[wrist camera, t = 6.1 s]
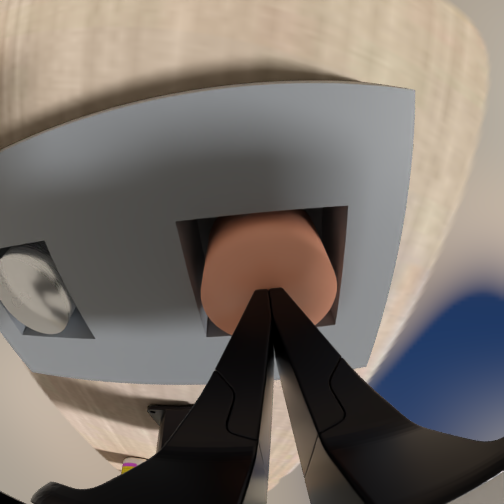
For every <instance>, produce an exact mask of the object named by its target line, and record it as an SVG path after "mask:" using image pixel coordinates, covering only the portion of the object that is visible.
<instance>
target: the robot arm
mask: <svg viewBox="0 0 504 504" xmlns="http://www.w3.org/2000/svg"><path fill="white" fill-rule="evenodd" d="M274 353H275V359H276V364H277V368H278V372H279V376H280V380H281V385H282V389H283V393H284V397H285V401H286V405H287V409H288V413H289V417H290V421H291V426H292V430H293V434H294V438H295V442H296V446H297V450H298V454H299V458H300V462H301V466H302V470H303V474H304V478H305V483H306V487H307V491H308V495H309V499H310V503H311V504H504V437H503V438H501V439H498V440H495V441H485V442H484V441H476V440H471V439H467V438H462V437H458V436H454V435H450V434H446V433H442V432H438V431H435V430H431V429H427V428H424V427H421V426H419V425H417V424H415V423H413V422H411V421H410V420H409V419H407V418H406V417H405V416H403V415H402V414H401V413H400V412H399V411H398V410H396V409H395V408H394V407H393V406H392V405H391V404H390V403H388V402H387V401H386V400H385V399H384V398H383V397H381V396H380V395H379V394H378V393H377V392H376V391H374V389H373V388H372V387H370V386H369V385H368V384H367V383H366V382H365V381H364V380H363V379H362V378H361V377H360V376H359V375H358V374H357V373H356V372H355V371H354V370H353V368H352V367H351V366H350V365H349V364H348V363H347V362H346V360H345V359H344V358H341V357H342V356H341V355H340V354H339V352H338V351H337V350H336V349H335V348H334V347H333V346H332V344H331V343H330V342H329V341H328V340H327V339H326V337H325V336H324V335H323V334H322V333H321V332H320V330H319V329H318V328H317V327H316V326H315V325H314V324H313V322H312V321H311V320H310V319H309V318H308V317H307V315H306V314H305V313H304V312H303V311H302V310H301V308H300V307H299V306H298V305H297V304H296V303H295V302H294V300H293V299H292V298H291V297H290V296H289V295H288V293H287V292H286V291H285V290H284V289H283V288H282V287H279V288H270V289H269V291H268V289H258V290H255V291H254V292H253V294H252V296H251V298H250V300H249V302H248V304H247V306H246V308H245V310H244V312H243V314H242V316H241V318H240V320H239V322H238V324H237V326H236V328H235V330H234V332H233V334H232V336H231V338H230V340H229V342H228V344H227V346H226V348H225V350H224V352H223V354H222V356H221V358H220V360H219V362H218V364H217V366H216V368H215V371H213V373H212V375H211V377H210V379H209V381H208V383H207V385H206V386H205V388H204V390H203V392H202V393H201V395H200V397H199V398H198V400H197V401H196V403H195V404H194V406H193V407H175V406H148V409H147V412H148V413H149V414H150V415H151V417H152V418H153V419H154V420H155V421H156V423H157V424H158V425H159V426H160V427H159V434H158V442H157V450H156V454H155V455H154V456H152V457H151V458H149V459H148V460H146V461H144V462H143V463H141V464H139V465H137V466H136V467H134V468H132V469H130V470H128V471H127V472H125V473H123V474H121V475H119V476H117V477H115V478H113V479H111V480H110V481H108V482H106V483H104V484H102V485H99V486H97V487H94V488H90V489H75V488H71V487H68V486H65V485H62V484H59V483H56V482H50V483H48V484H46V485H45V486H43V487H42V488H40V489H39V490H38V491H37V492H36V493H35V494H34V495H33V497H32V499H31V502H32V503H34V504H266V503H267V489H268V475H269V459H270V443H271V425H272V406H273V384H274ZM0 504H26V503H24V502H22V501H19V500H18V499H16V498H14V497H12V496H10V495H8V494H6V493H4V492H2V491H0Z"/></svg>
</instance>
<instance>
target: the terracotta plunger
mask: <svg viewBox="0 0 504 504" xmlns="http://www.w3.org/2000/svg"><path fill="white" fill-rule="evenodd" d="M279 287H282V288H283V289H284V290H285V291H286V292H287V293H288V295H289V296H290V297H291V298H292V299H293V300H294V302H295V303H296V304H297V305H298V306H299V307H300V308H301V310H302V311H303V312H304V313H305V314H306V315H307V317H308V318H309V319H310V320H311V321H312V322H313V324H314V325H316V324H317V323H318V322H319V321H321V320H322V319H323V317H324V316H325V315H326V314H327V313H328V311H329V310H330V308H331V306H332V304H333V302H334V300H335V297H336V292H337V281H336V276H335V272H334V270H333V267H332V265H331V263H330V260H329V258H328V255H327V253H326V251H325V248H324V246H323V244H322V242H321V239H320V237H319V235H318V232H317V230H316V228H315V226H314V224H313V222H312V220H311V218H310V216H309V215H308V214H307V213H306V211H305V210H304V209H294V210H282V211H271V212H260V213H249V214H239V215H229V216H220V217H217V219H216V220H215V222H214V223H213V225H212V228H211V230H210V234H209V240H208V246H207V252H206V258H205V265H204V271H203V278H202V285H201V302H202V305H203V308H204V311H205V312H206V314H207V316H208V317H209V318H210V320H211V321H212V322H213V323H214V324H215V325H216V326H217V327H219V328H220V329H221V330H223V331H225V332H226V333H228V334H230V335H232V334H233V332H234V330H235V328H236V326H237V324H238V322H239V320H240V318H241V316H242V314H243V312H244V310H245V308H246V306H247V304H248V302H249V300H250V298H251V296H252V294H253V292H254V291H255V290H258V289H268V291H269V289H270V288H279Z"/></svg>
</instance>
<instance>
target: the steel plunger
mask: <svg viewBox="0 0 504 504" xmlns="http://www.w3.org/2000/svg"><path fill="white" fill-rule="evenodd" d="M0 300H1V302H2V303H3V305H4V306H5V307H6V309H7V310H8V311H9V312H10V313H11V314H12V315H13V316H14V317H15V318H16V319H17V320H18V321H20V322H21V323H22V324H24V325H26V326H27V327H29V328H31V329H33V330H35V331H38V332H40V333H45V334H57V333H59V332H61V331H63V330H64V329H65V327H66V325H67V323H68V321H69V319H70V317H71V315H72V313H73V311H74V309H75V307H76V305H75V303H74V301H73V299H72V297H71V295H70V293H69V291H68V290H67V288H66V286H65V284H64V282H63V280H62V278H61V276H60V274H59V272H58V269H57V267H56V265H55V263H54V261H53V259H52V257H51V254H50V252H49V250H48V248H47V245H46V243H45V241H38V242H32V243H26V244H21V245H15V246H11V248H10V249H9V250H8V251H7V252H6V253H5V254H4V255H3V256H2V258H1V259H0Z"/></svg>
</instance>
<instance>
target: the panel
mask: <svg viewBox="0 0 504 504" xmlns="http://www.w3.org/2000/svg"><path fill="white" fill-rule="evenodd" d="M414 119H415V90H412V89H407V88H401V87H395V86H389V85H382V84H375V83H367V82H355V81H331V80H296V81H271V82H256V83H244V84H234V85H225V86H217V87H209V88H202V89H196V90H190V91H184V92H178V93H173V94H168V95H163V96H158V97H153V98H149V99H144V100H140V101H136V102H132V103H128V104H124V105H120V106H116V107H113V108H109V109H106V110H102V111H99V112H96V113H92V114H89V115H86V116H83V117H80V118H77V119H74V120H71V121H68V122H65V123H63V124H60V125H57V126H54V127H52V128H49V129H47V130H44V131H42V132H39V133H37V134H34V135H32V136H30V137H27V138H25V139H23V140H20V141H18V142H16V143H14V144H12V145H10V146H7V147H5V148H3V149H1V150H0V259H1V258H2V256H3V255H4V254H5V253H6V252H7V251H8V250H9V249H10V248H11V246H15V245H21V244H26V243H32V242H38V241H45V243H46V245H47V248H48V250H49V252H50V254H51V257H52V259H53V261H54V263H55V265H56V267H57V269H58V272H59V274H60V276H61V278H62V280H63V282H64V284H65V286H66V288H67V290H68V291H69V293H70V295H71V297H72V299H73V301H74V303H75V305H76V307H75V309H74V311H73V313H72V315H71V317H70V319H69V321H68V323H67V325H66V327H65V329H64V330H63V331H61V332H59V333H57V334H45V333H40V332H38V331H35V330H33V329H31V328H29V327H27V326H26V325H24V324H22V323H21V322H20V321H18V320H17V319H16V318H15V317H14V316H13V315H12V314H11V313H10V312H9V311H8V310H7V309H6V307H5V306H4V305H3V303H2V302H1V300H0V332H1V333H2V335H3V336H4V337H5V339H6V340H7V341H8V343H9V344H10V345H11V347H12V348H13V349H14V351H15V352H16V353H17V354H18V356H19V357H20V358H21V359H22V361H23V362H24V363H25V364H26V365H27V367H28V368H29V369H30V370H31V371H32V372H35V373H41V374H47V375H53V376H60V377H67V378H75V379H84V380H94V381H104V382H117V383H134V384H161V385H200V384H207V383H208V381H209V379H210V377H211V375H212V373H213V371H215V368H216V366H217V364H218V362H219V360H220V358H221V356H222V354H223V352H224V350H225V348H226V346H227V344H228V342H229V340H230V338H231V336H232V335H230V334H228V333H226V332H225V331H223V330H221V329H220V328H219V327H217V326H216V325H215V324H214V323H213V322H212V321H211V320H210V318H209V317H208V316H207V314H206V312H205V311H204V308H203V305H202V302H201V285H202V278H203V271H204V265H205V258H206V252H207V246H208V240H209V234H210V230H211V228H212V225H213V223H214V222H215V220H216V219H217V217H220V216H229V215H239V214H249V213H260V212H271V211H282V210H294V209H304V210H305V211H306V213H307V214H308V215H309V216H310V218H311V220H312V222H313V224H314V226H315V228H316V230H317V232H318V235H319V237H320V239H321V242H322V244H323V246H324V248H325V251H326V253H327V255H328V258H329V260H330V263H331V265H332V267H333V270H334V272H335V276H336V281H337V292H336V297H335V300H334V302H333V304H332V306H331V308H330V310H329V311H328V313H327V314H326V315H325V316H324V317H323V319H322V320H321V321H319V322H318V323H317V324H316V325H315V326H316V327H317V328H318V329H319V330H320V332H321V333H322V334H323V335H324V336H325V337H326V339H327V340H328V341H329V342H330V343H331V344H332V346H333V347H334V348H335V349H336V350H337V351H338V352H339V354H340V355H341V356H342V357H341V358H344V359H345V360H346V362H347V363H348V364H349V365H350V366H351V367H352V368H353V369H356V368H361V367H366V366H367V363H368V360H369V357H370V354H371V351H372V348H373V345H374V342H375V339H376V336H377V332H378V329H379V326H380V322H381V319H382V315H383V312H384V308H385V305H386V301H387V297H388V293H389V289H390V285H391V281H392V277H393V273H394V268H395V264H396V259H397V254H398V249H399V244H400V239H401V234H402V228H403V222H404V216H405V210H406V203H407V196H408V189H409V181H410V172H411V162H412V151H413V138H414ZM274 380H280V376H279V372H278V368H277V364H276V359H275V353H274Z"/></svg>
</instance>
